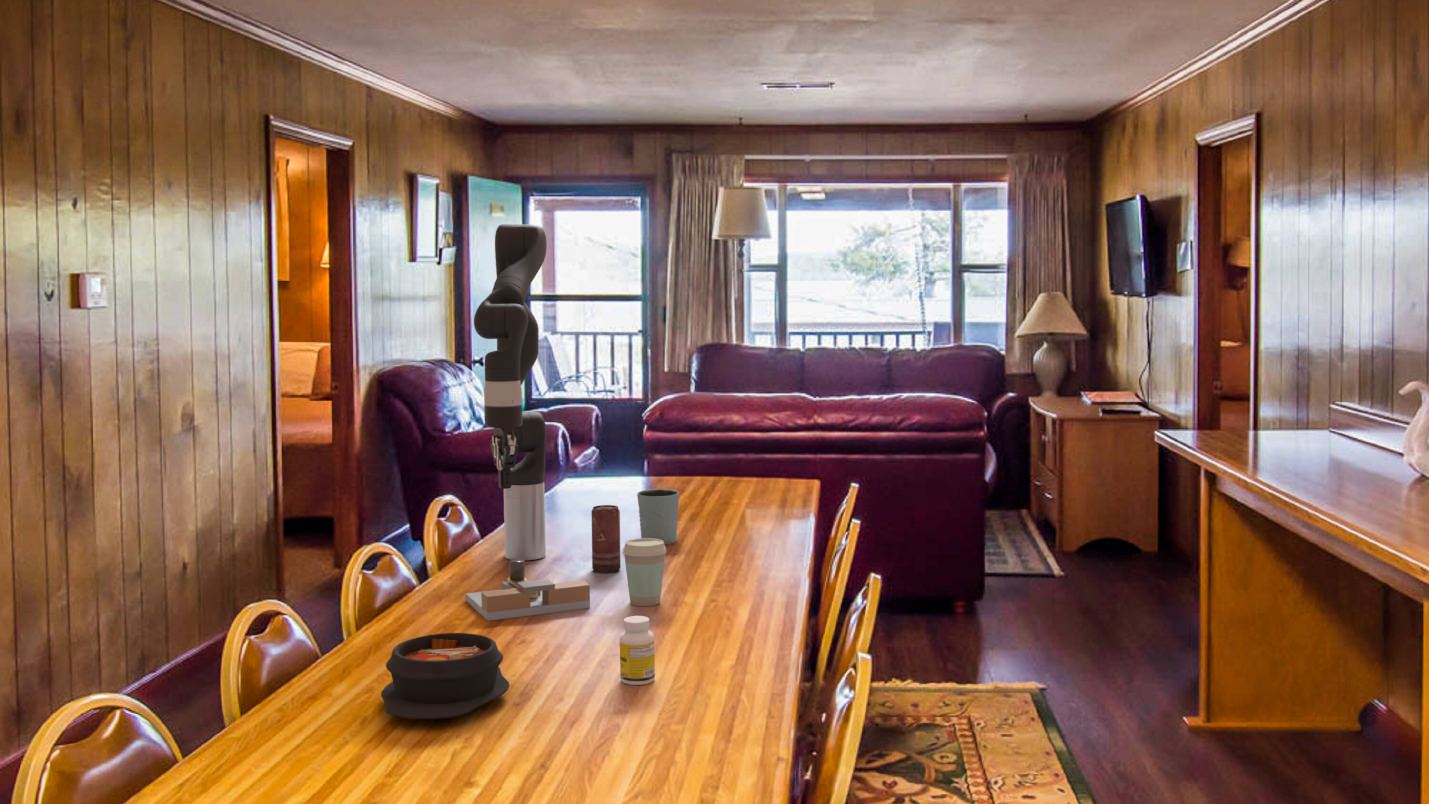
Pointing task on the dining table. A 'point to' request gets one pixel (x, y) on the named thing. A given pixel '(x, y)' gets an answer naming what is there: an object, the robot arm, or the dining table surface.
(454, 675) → the casserole
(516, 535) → the robot arm
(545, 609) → the door plate
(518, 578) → the bolt
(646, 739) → the dining table surface
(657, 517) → the grey tapered cup
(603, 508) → the can
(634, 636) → the supplement bottle
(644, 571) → the coffee cup
